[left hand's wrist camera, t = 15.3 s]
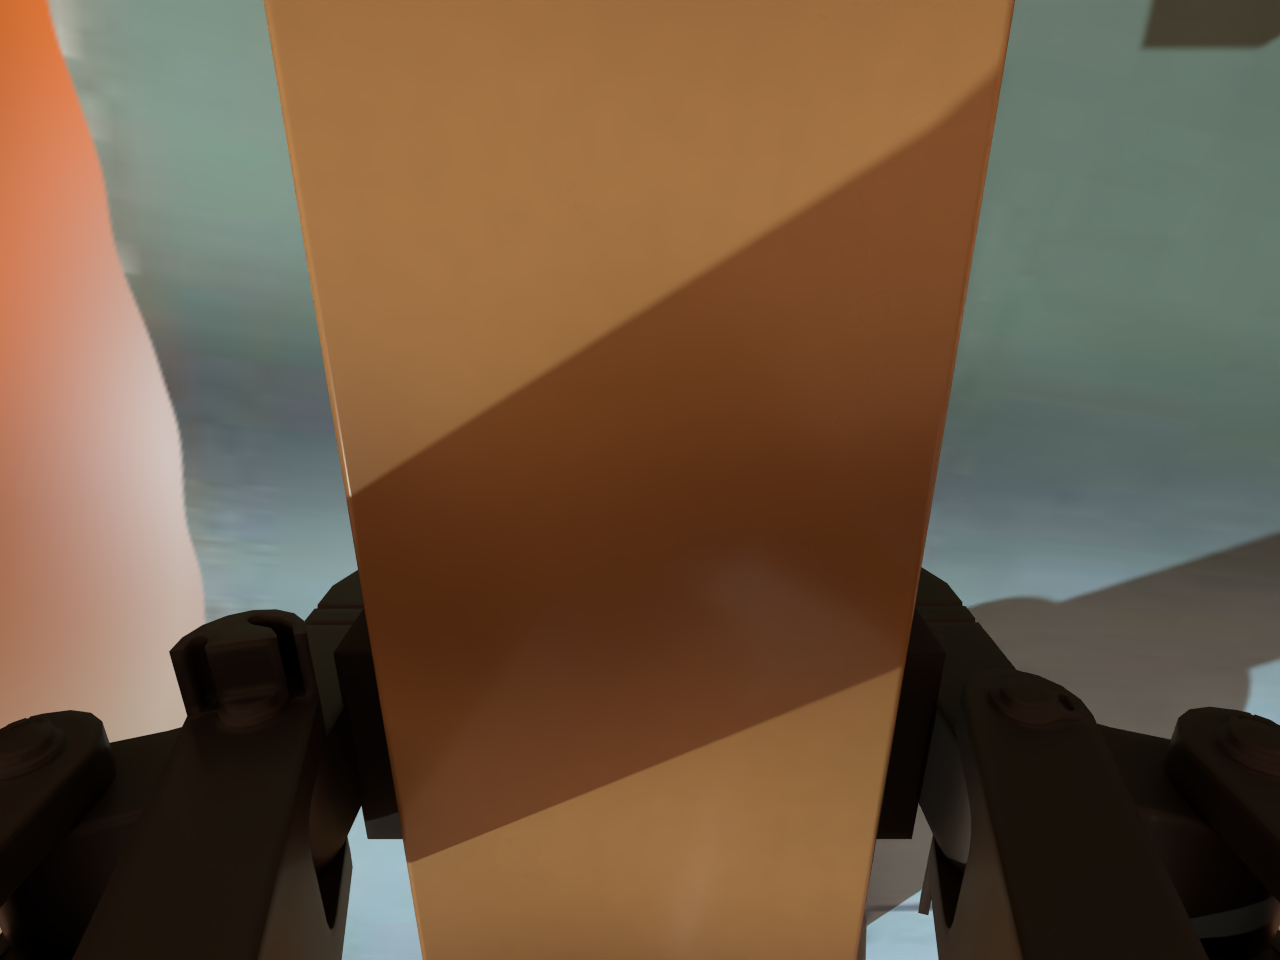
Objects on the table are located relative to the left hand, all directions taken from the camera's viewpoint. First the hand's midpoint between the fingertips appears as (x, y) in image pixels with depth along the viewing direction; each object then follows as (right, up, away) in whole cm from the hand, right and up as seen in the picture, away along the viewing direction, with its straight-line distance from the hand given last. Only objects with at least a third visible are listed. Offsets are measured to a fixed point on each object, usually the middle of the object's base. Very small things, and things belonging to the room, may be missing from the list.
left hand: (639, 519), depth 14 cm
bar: (0, +9, -3) cm, 9 cm away
